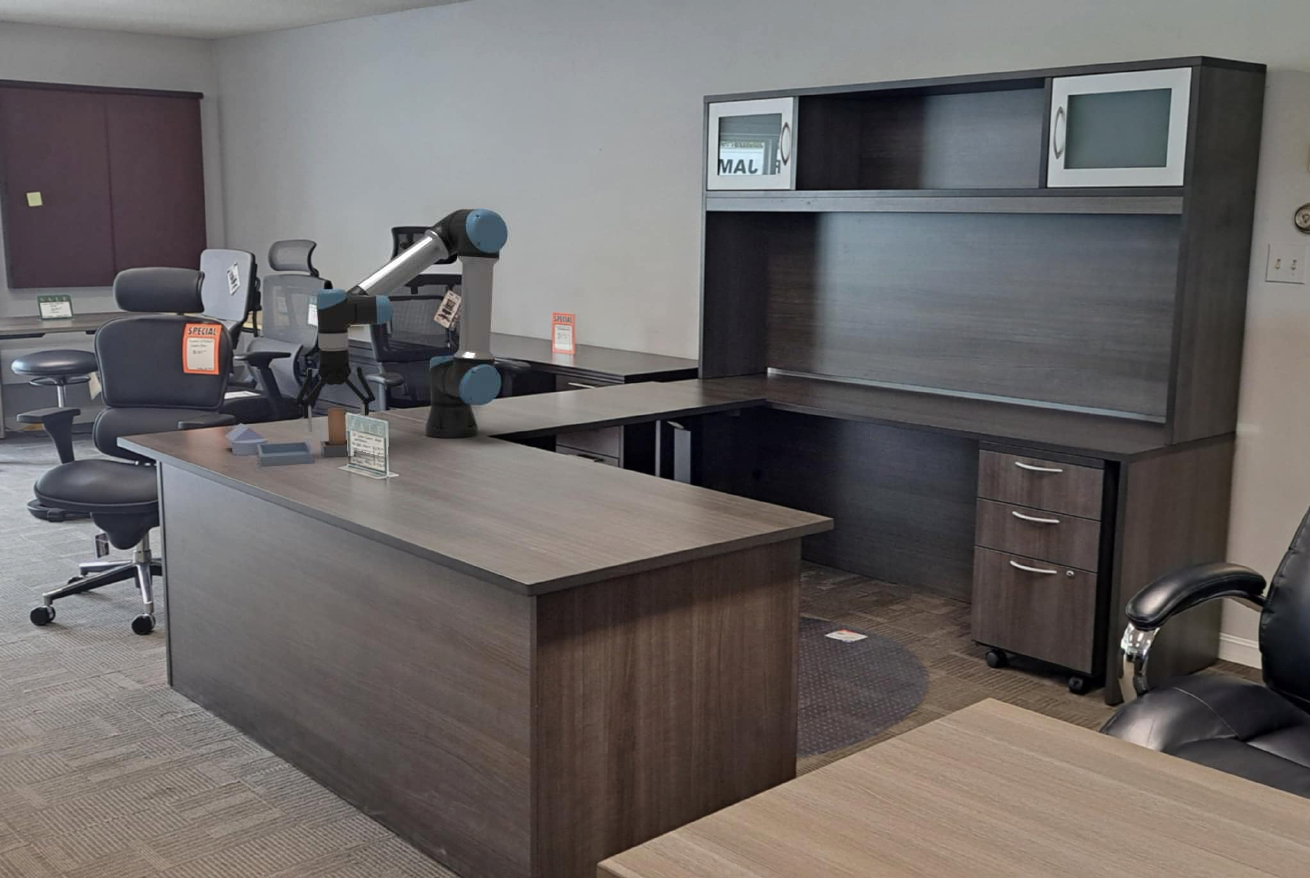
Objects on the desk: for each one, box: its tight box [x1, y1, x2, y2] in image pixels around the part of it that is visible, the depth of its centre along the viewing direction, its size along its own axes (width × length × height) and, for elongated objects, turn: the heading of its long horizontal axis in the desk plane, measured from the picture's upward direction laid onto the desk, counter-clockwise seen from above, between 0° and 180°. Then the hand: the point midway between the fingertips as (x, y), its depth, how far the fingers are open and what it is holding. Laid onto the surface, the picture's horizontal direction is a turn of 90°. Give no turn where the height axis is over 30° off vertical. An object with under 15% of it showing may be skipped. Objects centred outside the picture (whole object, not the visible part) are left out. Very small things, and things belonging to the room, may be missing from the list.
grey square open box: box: [320, 439, 348, 459], centre depth 323 cm, size 8×8×4 cm
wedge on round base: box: [224, 423, 268, 456], centre depth 330 cm, size 9×7×13 cm
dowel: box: [327, 407, 347, 446], centre depth 322 cm, size 4×4×12 cm
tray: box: [256, 441, 315, 468], centre depth 317 cm, size 13×18×3 cm
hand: (337, 429), depth 322 cm, fingers open, 13 cm apart
